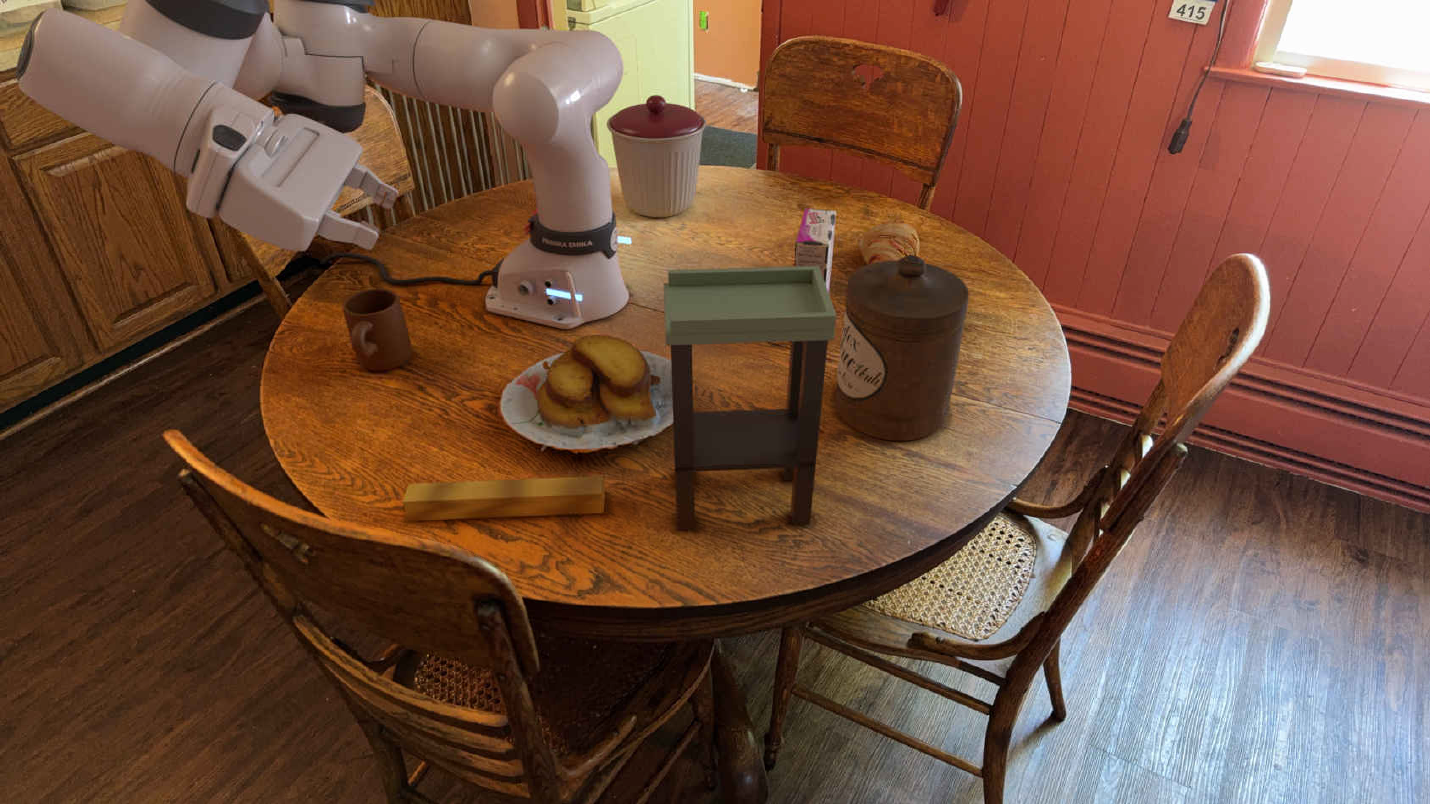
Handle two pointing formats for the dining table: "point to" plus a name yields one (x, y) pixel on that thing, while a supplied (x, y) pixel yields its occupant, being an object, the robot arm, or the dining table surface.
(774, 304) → the stand
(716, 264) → the dining table surface
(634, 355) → the food on plate
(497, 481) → the batten
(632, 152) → the canister
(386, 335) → the mug
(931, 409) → the wooden container
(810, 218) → the candy bar box
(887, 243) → the croissant
